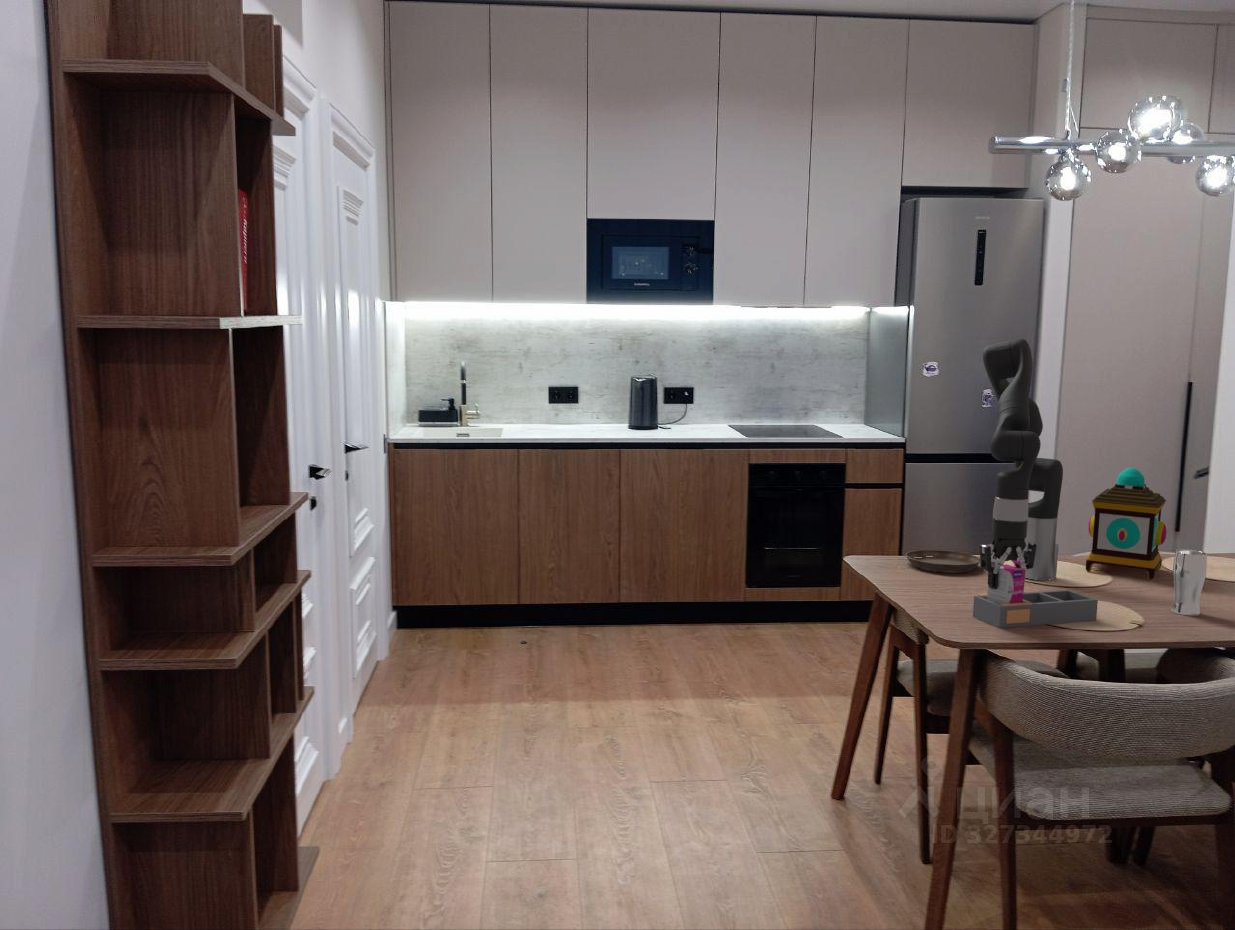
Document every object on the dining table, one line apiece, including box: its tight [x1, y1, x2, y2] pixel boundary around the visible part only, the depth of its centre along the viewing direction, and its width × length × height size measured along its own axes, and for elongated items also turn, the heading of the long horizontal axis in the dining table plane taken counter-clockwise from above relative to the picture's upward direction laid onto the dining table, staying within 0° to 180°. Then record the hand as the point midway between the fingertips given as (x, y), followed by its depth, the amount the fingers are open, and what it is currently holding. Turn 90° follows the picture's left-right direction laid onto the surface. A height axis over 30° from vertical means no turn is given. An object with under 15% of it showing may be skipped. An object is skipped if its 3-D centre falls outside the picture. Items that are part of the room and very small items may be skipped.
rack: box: [972, 589, 1099, 629], centre depth 230 cm, size 27×10×5 cm, turn 106°
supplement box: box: [986, 563, 1026, 605], centre depth 228 cm, size 6×6×12 cm
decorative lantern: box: [1085, 467, 1168, 581], centre depth 280 cm, size 20×20×30 cm
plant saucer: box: [905, 549, 980, 574], centre depth 283 cm, size 21×21×3 cm
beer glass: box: [1171, 548, 1208, 617], centre depth 237 cm, size 7×7×15 cm
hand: (1005, 587), depth 228 cm, fingers closed on supplement box, 6 cm apart
